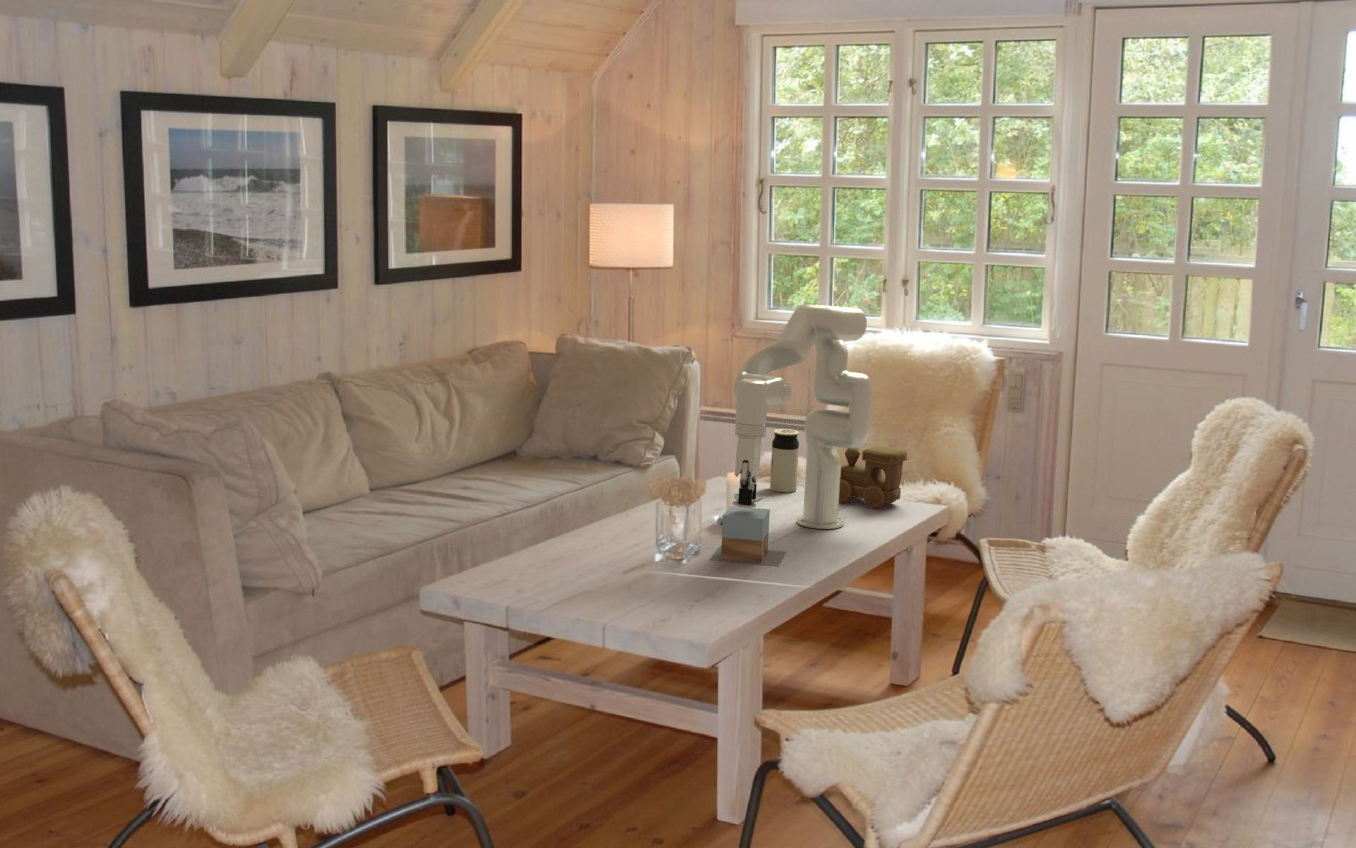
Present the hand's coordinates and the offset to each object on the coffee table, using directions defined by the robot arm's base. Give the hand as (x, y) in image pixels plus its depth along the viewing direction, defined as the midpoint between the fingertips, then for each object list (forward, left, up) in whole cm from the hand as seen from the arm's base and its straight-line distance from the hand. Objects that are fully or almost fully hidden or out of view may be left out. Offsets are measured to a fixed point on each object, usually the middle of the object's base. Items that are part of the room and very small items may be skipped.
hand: (747, 501), depth 345 cm
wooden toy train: (-69, +24, -15) cm, 74 cm away
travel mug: (-77, -2, -15) cm, 78 cm away
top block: (0, 0, -8) cm, 8 cm away
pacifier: (+1, 0, -1) cm, 1 cm away
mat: (0, +1, -14) cm, 14 cm away
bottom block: (0, 0, -14) cm, 14 cm away
